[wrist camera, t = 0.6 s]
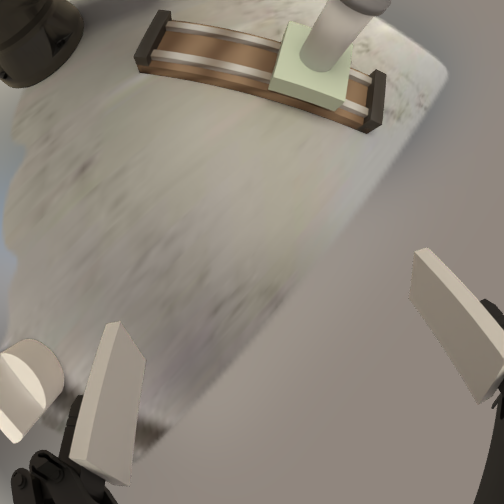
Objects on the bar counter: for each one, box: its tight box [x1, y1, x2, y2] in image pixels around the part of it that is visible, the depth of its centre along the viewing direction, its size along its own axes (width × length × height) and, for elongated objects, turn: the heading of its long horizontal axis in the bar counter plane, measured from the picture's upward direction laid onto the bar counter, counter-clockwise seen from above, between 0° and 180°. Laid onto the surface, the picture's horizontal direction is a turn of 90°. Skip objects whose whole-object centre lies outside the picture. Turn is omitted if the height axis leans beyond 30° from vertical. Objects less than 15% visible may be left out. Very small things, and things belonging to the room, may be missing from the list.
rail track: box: [134, 10, 386, 134], centre depth 32 cm, size 30×8×4 cm, turn 76°
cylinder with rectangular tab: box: [0, 339, 64, 443], centre depth 25 cm, size 9×9×12 cm
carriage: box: [268, 0, 391, 111], centre depth 23 cm, size 8×9×16 cm
